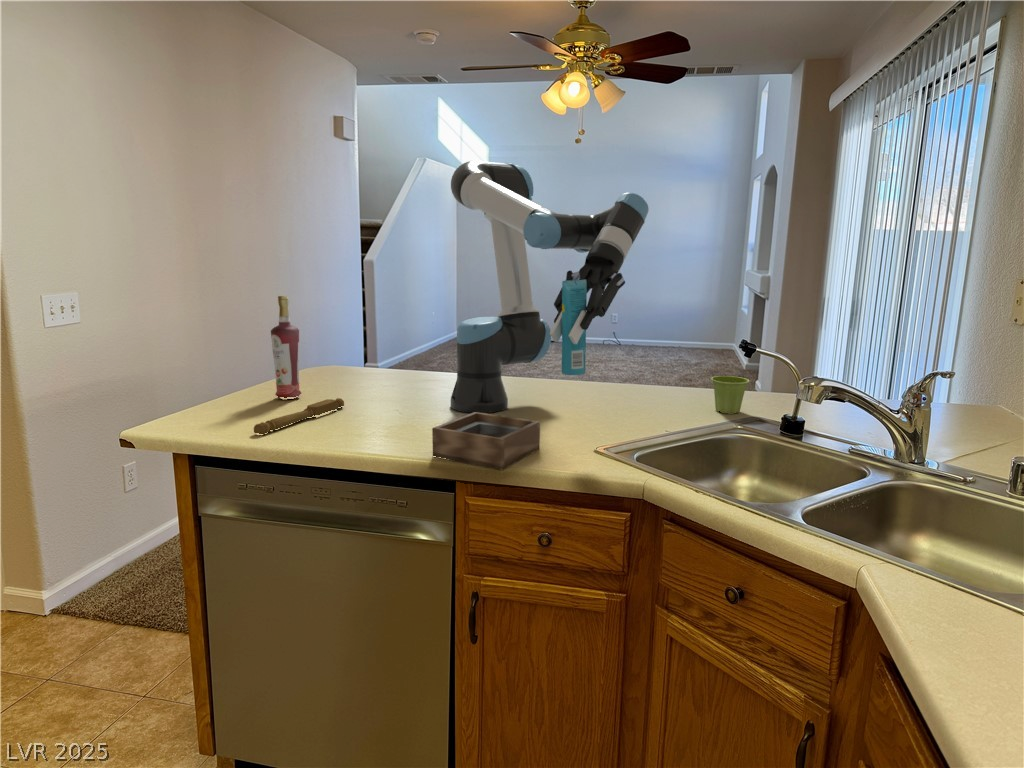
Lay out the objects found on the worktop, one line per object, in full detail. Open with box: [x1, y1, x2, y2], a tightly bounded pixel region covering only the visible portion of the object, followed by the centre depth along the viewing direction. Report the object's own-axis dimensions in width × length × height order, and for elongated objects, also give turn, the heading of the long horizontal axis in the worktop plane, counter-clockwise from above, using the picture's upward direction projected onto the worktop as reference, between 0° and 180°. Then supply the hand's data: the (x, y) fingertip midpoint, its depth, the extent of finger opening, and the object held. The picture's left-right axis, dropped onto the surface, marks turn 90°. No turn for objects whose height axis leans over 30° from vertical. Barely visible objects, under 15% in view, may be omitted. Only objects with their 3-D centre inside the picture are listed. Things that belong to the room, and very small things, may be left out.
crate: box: [431, 412, 541, 471], centre depth 139 cm, size 16×16×6 cm
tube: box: [561, 279, 588, 376], centre depth 138 cm, size 7×5×19 cm, turn 141°
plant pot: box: [710, 375, 750, 415], centre depth 177 cm, size 9×9×9 cm
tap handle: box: [253, 397, 345, 434], centre depth 164 cm, size 3×3×30 cm
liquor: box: [270, 295, 302, 398], centre depth 184 cm, size 7×7×28 cm
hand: (563, 338), depth 136 cm, fingers closed on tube, 4 cm apart
